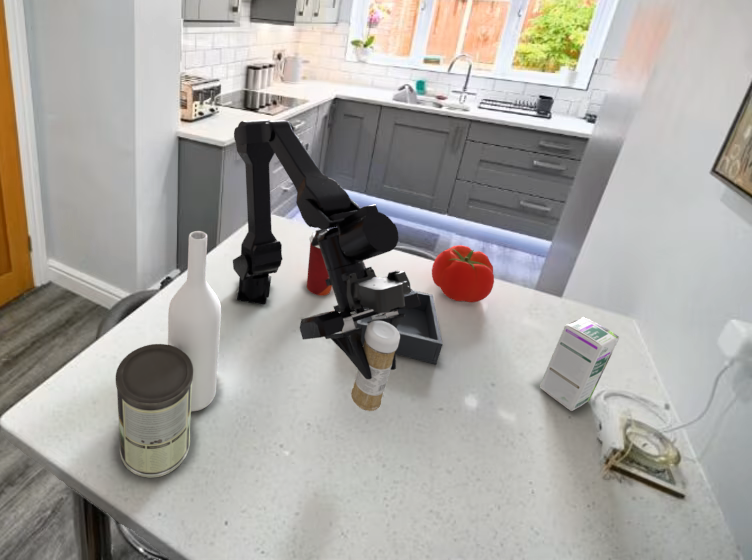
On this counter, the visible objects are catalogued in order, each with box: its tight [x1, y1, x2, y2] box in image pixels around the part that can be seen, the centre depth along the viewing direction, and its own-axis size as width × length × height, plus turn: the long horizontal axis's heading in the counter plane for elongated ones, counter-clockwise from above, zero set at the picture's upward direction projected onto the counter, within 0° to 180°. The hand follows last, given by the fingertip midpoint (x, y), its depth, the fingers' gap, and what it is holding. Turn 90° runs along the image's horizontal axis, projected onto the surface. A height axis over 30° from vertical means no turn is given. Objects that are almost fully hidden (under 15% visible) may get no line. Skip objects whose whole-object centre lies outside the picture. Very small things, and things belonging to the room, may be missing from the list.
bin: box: [354, 289, 444, 365], centre depth 90 cm, size 16×16×5 cm
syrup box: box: [539, 316, 620, 412], centre depth 75 cm, size 6×6×14 cm
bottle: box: [167, 230, 222, 412], centre depth 67 cm, size 8×8×30 cm
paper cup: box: [306, 228, 333, 297], centre depth 99 cm, size 8×8×14 cm
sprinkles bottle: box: [350, 321, 400, 412], centre depth 63 cm, size 5×5×14 cm
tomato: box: [431, 244, 495, 303], centre depth 102 cm, size 14×13×10 cm
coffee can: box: [115, 343, 193, 479], centre depth 61 cm, size 10×10×14 cm
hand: (380, 374), depth 62 cm, fingers closed on sprinkles bottle, 4 cm apart
